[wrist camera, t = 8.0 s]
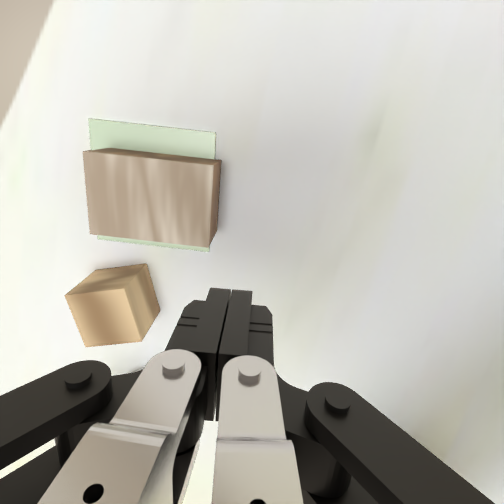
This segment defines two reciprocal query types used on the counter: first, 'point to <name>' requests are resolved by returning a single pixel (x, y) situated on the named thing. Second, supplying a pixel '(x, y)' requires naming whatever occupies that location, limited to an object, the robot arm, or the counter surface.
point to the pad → (151, 141)
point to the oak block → (114, 305)
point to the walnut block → (152, 196)
